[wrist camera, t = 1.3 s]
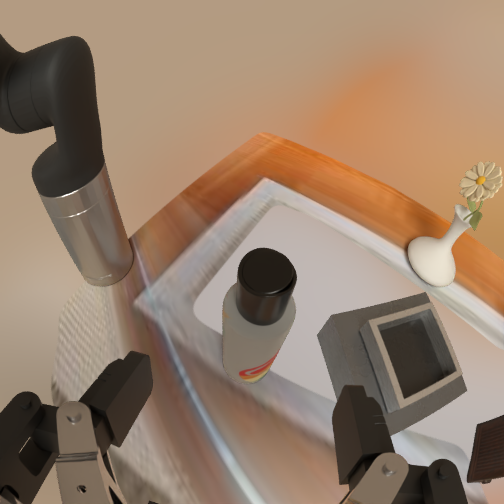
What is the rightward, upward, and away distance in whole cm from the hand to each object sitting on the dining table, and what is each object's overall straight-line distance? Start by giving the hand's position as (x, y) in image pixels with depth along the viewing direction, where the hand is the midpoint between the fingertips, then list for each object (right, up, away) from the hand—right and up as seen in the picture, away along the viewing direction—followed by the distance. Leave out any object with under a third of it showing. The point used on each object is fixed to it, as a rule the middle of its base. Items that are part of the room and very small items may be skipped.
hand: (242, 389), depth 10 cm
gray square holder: (+18, -11, +22) cm, 31 cm away
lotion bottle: (0, -8, +23) cm, 24 cm away
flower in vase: (+33, +2, +35) cm, 48 cm away
